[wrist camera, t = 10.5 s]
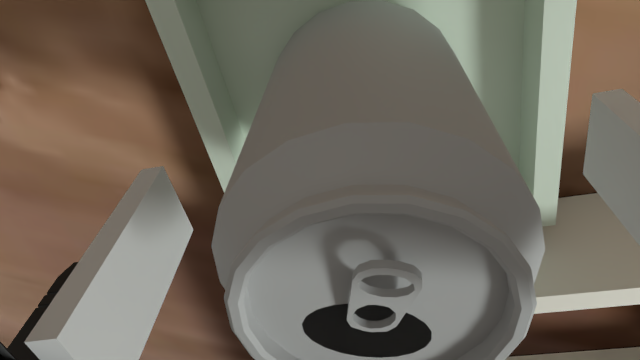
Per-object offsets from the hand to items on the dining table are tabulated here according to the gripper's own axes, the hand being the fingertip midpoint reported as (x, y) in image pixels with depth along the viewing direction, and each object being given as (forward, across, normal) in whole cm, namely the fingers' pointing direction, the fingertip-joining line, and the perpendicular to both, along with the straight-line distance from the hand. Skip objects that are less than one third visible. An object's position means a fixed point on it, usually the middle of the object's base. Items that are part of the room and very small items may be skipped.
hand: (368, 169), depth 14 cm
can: (+6, 0, 0) cm, 6 cm away
